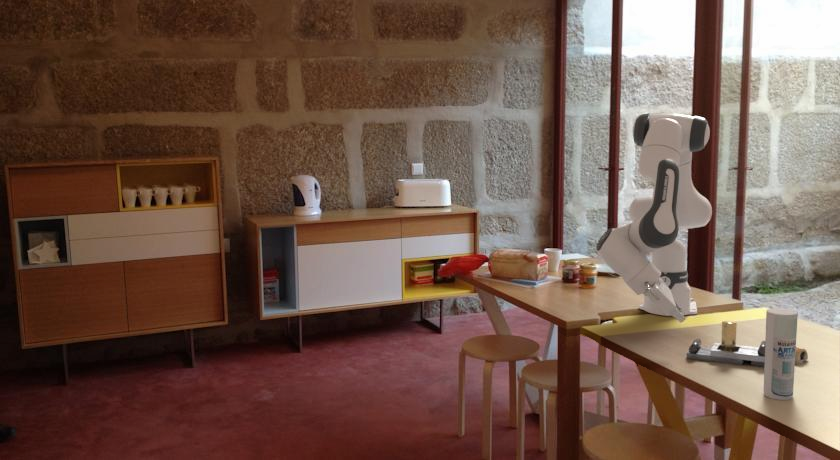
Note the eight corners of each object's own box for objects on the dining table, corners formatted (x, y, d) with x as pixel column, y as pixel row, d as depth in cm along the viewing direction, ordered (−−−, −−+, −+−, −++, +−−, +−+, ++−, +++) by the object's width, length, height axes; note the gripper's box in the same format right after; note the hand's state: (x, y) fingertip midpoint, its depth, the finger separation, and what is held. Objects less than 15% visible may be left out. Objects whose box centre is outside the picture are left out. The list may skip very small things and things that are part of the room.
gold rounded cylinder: (721, 356, 212) (723, 320, 210) (736, 358, 210) (737, 321, 209) (719, 359, 209) (721, 323, 207) (734, 361, 207) (735, 324, 206)
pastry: (763, 357, 210) (763, 344, 210) (775, 353, 215) (776, 339, 214) (798, 366, 203) (799, 351, 203) (810, 360, 207) (811, 346, 207)
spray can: (782, 389, 185) (786, 307, 183) (799, 399, 179) (804, 313, 176) (757, 391, 184) (760, 308, 182) (773, 401, 178) (777, 315, 175)
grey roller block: (686, 358, 211) (687, 340, 210) (691, 350, 218) (692, 332, 217) (767, 368, 201) (768, 349, 200) (770, 359, 208) (771, 341, 207)
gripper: (655, 279, 201) (694, 318, 200) (651, 264, 220) (687, 299, 219) (637, 295, 202) (675, 334, 201) (635, 279, 222) (670, 314, 221)
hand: (681, 316), depth 211 cm, fingers open, 8 cm apart
